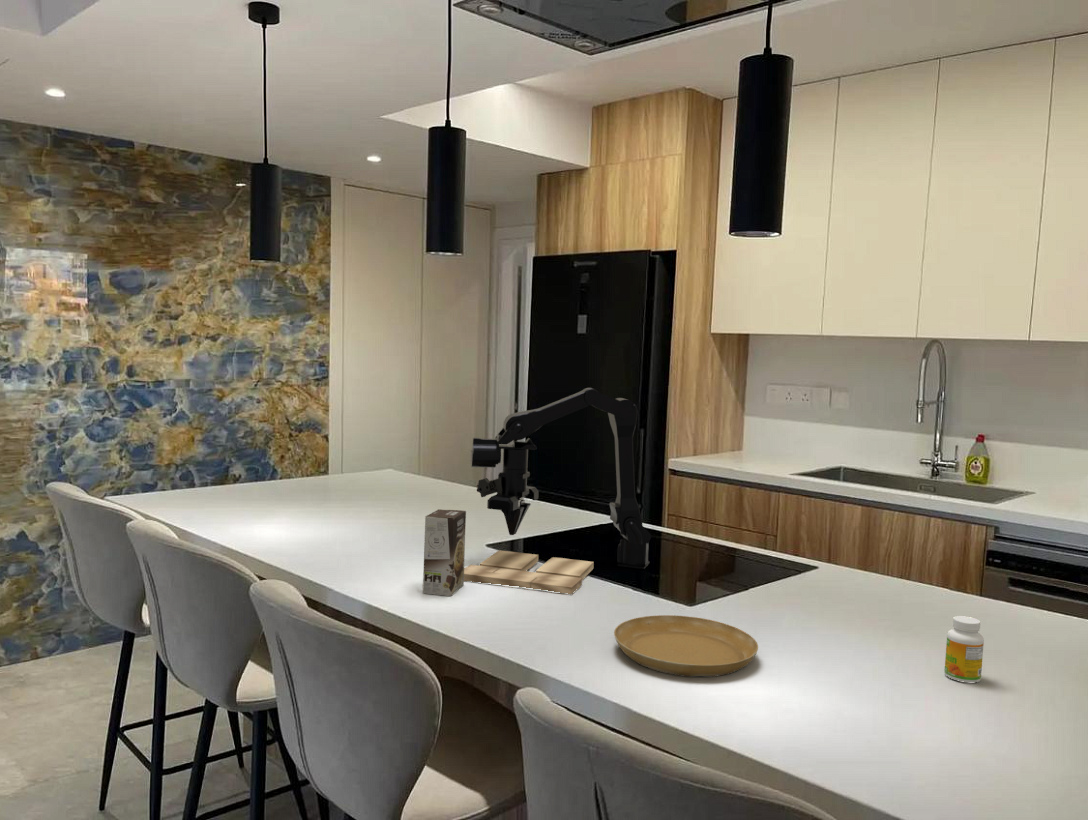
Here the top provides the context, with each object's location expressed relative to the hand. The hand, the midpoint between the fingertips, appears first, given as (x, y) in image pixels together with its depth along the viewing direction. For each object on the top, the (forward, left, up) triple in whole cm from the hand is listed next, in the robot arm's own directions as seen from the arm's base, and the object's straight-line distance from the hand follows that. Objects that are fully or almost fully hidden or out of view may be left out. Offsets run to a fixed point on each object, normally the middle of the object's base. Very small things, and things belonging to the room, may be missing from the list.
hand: (512, 534), depth 202 cm
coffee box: (+6, +25, -8) cm, 27 cm away
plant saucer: (-47, +43, -8) cm, 64 cm away
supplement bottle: (-91, +35, -8) cm, 98 cm away
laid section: (-7, +13, -7) cm, 17 cm away
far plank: (0, +2, -7) cm, 7 cm away
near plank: (-14, +2, -7) cm, 15 cm away
